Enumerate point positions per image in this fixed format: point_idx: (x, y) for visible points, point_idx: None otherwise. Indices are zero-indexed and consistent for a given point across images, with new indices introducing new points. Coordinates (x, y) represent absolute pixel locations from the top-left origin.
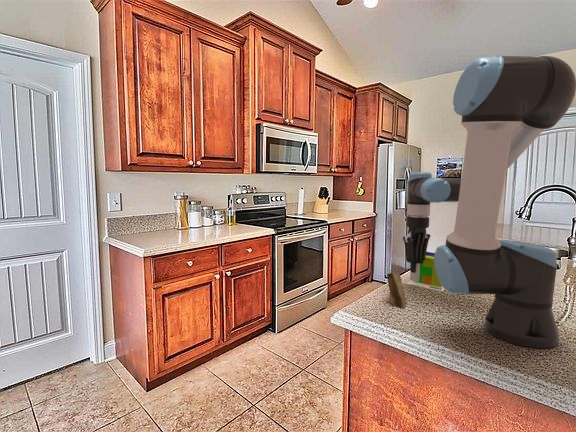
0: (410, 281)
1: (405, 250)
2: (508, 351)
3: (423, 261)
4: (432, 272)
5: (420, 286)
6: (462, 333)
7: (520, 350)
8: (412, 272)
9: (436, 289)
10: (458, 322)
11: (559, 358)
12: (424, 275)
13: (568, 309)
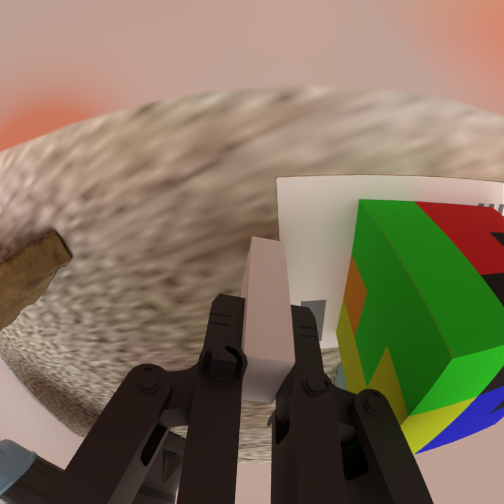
0: (348, 184)
1: (54, 489)
2: (81, 421)
3: (396, 382)
4: (358, 362)
5: None
6: (61, 393)
7: None
8: (246, 294)
9: None
10: (87, 392)
11: None
12: (363, 301)
13: None
